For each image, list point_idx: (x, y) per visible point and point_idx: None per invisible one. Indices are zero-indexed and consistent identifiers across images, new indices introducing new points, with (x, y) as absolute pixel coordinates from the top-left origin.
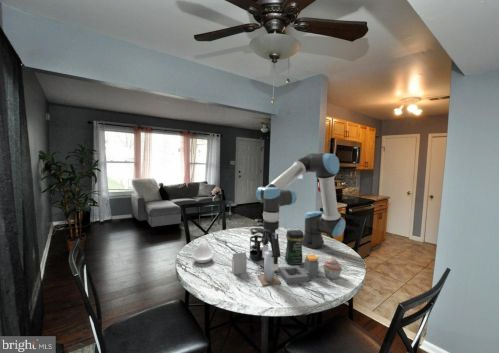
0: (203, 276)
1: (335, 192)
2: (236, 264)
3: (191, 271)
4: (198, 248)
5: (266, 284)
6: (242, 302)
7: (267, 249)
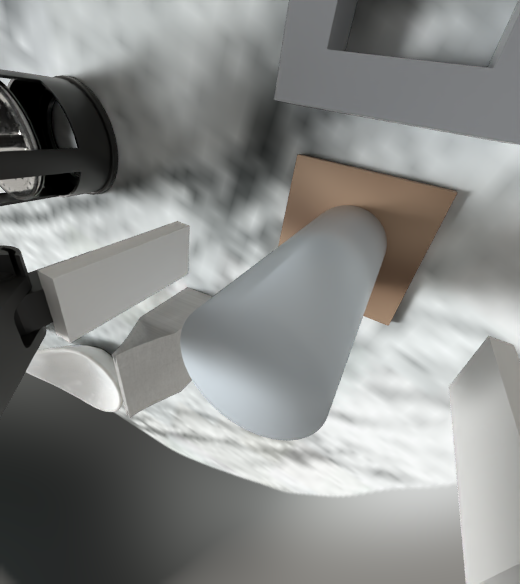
0: (204, 428)
1: None
2: (187, 374)
3: (168, 428)
4: (53, 378)
5: (398, 305)
6: (453, 479)
7: (116, 264)
